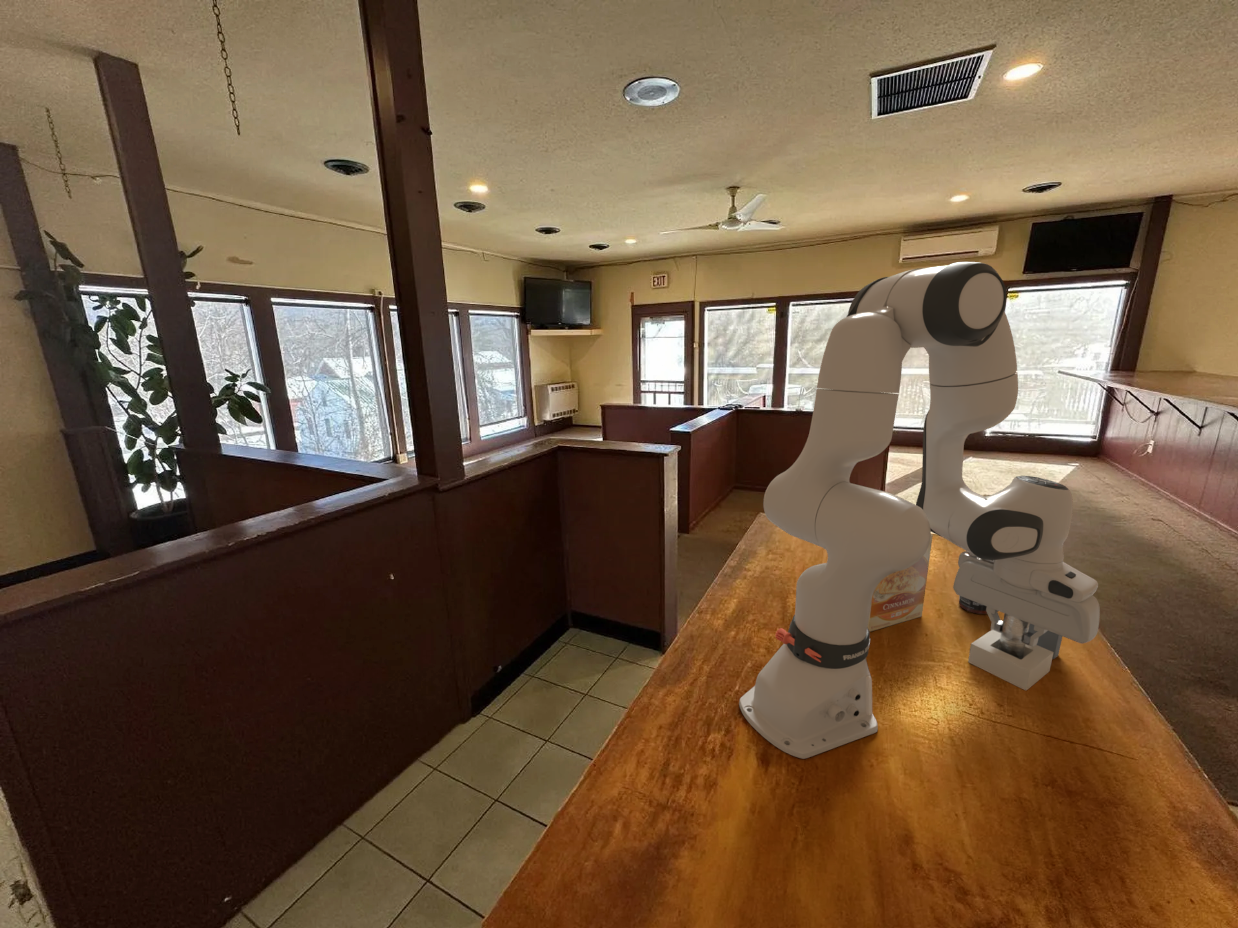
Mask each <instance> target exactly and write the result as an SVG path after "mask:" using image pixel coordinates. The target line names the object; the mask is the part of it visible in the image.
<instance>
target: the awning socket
mask: <svg viewBox="0 0 1238 928" xmlns="http://www.w3.org/2000/svg"><path fill="white" fill-rule="evenodd" d="M1028 632H1031V633H1034V634H1035V633H1036V632H1038V631H1035V630H1034V625H1033V624H1030V625H1029V630H1028ZM1000 636H1001V633H999V632H997V631H994V630H992V629H990V630H989V631H988V632H986V633H985V634H983V635H982V636H981V637H979V638H977V639H976V640H974V641H973V642H971V644H970V649H969V656H968V660H967V662H968V663H969V664H971V665H973V666H975V667H977V668H980V669H982V670H984V671H985V672H988V673H990V674H991V675H993V676H995V677H997V678H999V679H1002V680H1003V681H1005V682H1008V683H1010V684H1011V685H1013V686H1016V687H1018V688H1019V689H1022V690H1024V691H1027V690H1030V688H1031V687H1032V686H1034V685H1035V684H1036V683H1037V682H1038V681H1039V680H1041V679H1042V678H1043V677H1045V675H1047V674H1048V673H1049V672H1050V671H1051V667H1052V660H1054V659H1056V658H1057V657H1058V656H1059V655H1060V649H1061V644H1062V640H1063V636H1061V635H1058V634H1055V633H1053V632H1050V631H1047V632H1045V633H1044V634H1043V635H1041V636H1040V637H1039V638H1038V642H1037V645H1036V646H1034V647H1032V646H1029V645H1027V644H1026V645H1025V650H1024V655H1023V659H1018V658H1016V657H1014V656H1012V655H1010V654H1007V653H1005V652H1003V651H1001V650H999V649H998V647H999V642H1000Z"/></svg>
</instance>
